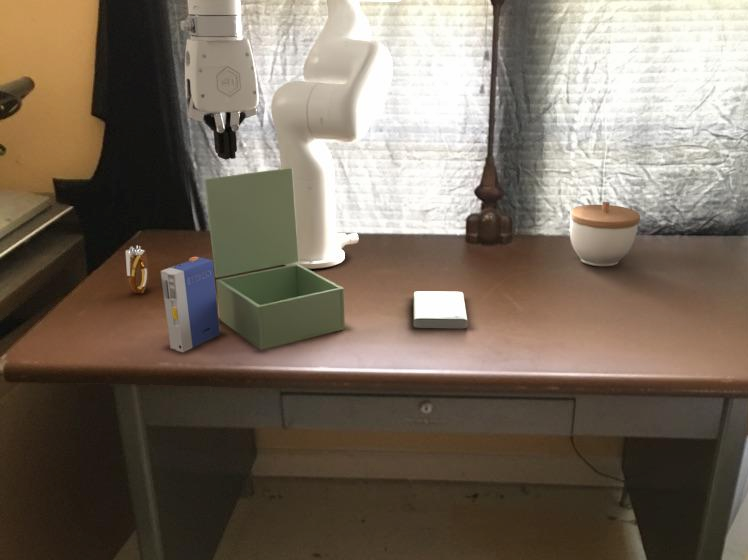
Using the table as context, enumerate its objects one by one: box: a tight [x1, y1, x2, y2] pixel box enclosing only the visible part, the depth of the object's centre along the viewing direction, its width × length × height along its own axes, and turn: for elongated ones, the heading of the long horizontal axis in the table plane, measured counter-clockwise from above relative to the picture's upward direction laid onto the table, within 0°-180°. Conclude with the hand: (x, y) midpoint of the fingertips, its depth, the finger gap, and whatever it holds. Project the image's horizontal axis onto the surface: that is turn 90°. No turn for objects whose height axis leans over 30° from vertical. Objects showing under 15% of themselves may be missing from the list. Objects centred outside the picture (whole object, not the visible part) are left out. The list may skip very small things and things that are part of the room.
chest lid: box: [203, 168, 298, 279], centre depth 129 cm, size 15×14×1 cm
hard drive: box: [413, 290, 468, 329], centre depth 135 cm, size 2×8×12 cm
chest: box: [215, 264, 346, 351], centre depth 129 cm, size 14×14×7 cm
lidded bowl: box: [569, 201, 641, 267], centre depth 158 cm, size 13×13×11 cm
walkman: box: [160, 256, 221, 353], centre depth 122 cm, size 8×3×12 cm, turn 148°
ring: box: [125, 245, 150, 294], centre depth 141 cm, size 7×3×8 cm, turn 172°
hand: (226, 157), depth 131 cm, fingers closed
